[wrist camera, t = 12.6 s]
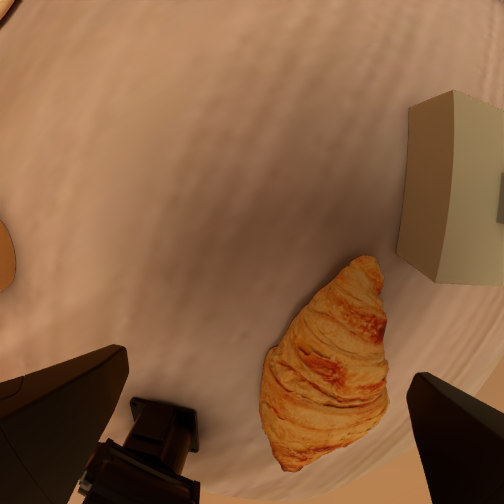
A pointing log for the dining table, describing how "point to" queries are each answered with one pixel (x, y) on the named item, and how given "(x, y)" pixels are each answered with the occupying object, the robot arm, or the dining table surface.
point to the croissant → (328, 370)
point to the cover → (455, 191)
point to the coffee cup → (6, 258)
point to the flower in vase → (5, 7)
